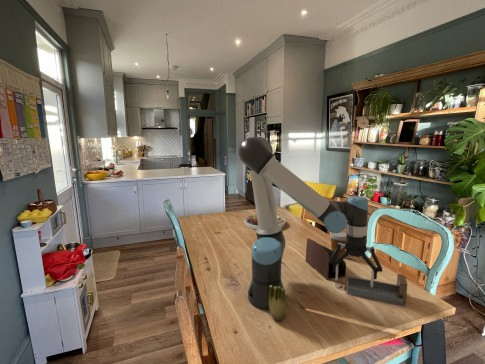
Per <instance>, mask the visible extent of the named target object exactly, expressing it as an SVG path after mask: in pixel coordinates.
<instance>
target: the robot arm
mask: <svg viewBox="0 0 485 364" xmlns="http://www.w3.org/2000/svg"><path fill="white" fill-rule="evenodd" d="M237 151H238V157H239V160H240V161H241V162H242V163H243V165H244V166H245V171H246V172H247V173H249V174H250V179H251V184H252V190H253V199H254V205H255V211H256V214H257V219H258V225H259V227H258V229H257V230H255V234H256V240H255V241H253V243H252V245H251V252H250V253H251V280H250V285H249V287H248V290H247V300H248V302H249V303H250V304H251V305H252V306H253V307H256V308H258V309H262V310H269V286H270V285H272V286H273V288H274V287H277V297H278V286H280V287H281V289H282V288H284V285H283V282H282V262H283V255H284V252H285V248H286V245H287V244H286V239H285V235H284V232H283V227H281V226H280V225H278V221H277V215H278V213H277V208H276V207H277V206H276V202H275V201H276V200H275V195H274V188H273V187H274V186H273V185H275V186H276V187H277V188H278V189H279V190H281V191H282V192H283V193H284V194H286V195H288V197H289V198H291V200H294V201H295V202H296V203H297V204H298V205H300V206H301V207H302V208H303V209H305V211H307V212H309V214H311V215H312V216H313V217H314V218H315V219H317V220H318V221H319V222H321V223H322V224H323V226H324V227H325V229H326V230H327V231H328V232H330V233H331V232H332V233H340V232H344V230H345V229H346V233H347V234H346V244H341V242H339V243H338V247H337V248H336V250H335V252H334V253H333V255H332V256H331V258H330V259H329V263H330V264H333V272H336V278H335V279H334V281H336V282H337V281H338V279H339V278H338V263H339V262H341V261H342V260H345V259H346V258H347V257H348V256H351V257H357V258H360V257H361V258H362V259H363V260H364V261H365V263H366V264H367V265H368V267H370V268H371V273H370V274H371V275H370V280H371V287H372V288H373V281H375V280H377V278H378V273H379V272H380V273H382V272H383V266H382V264H381V263H380V260H379V258H378V257H377V254H376V252H375V247H374V246H370V247H367V234H368V219H369V218H368V217H369V210H370V209H369V200H368V198H367V197H365V196H361V195H351V196H348V198H347V200H345V201H343V200H342V201H341V200H328V199H327V198H325V197H323V196H322V195H321V194H320V193H318V191H316V190H315V189H314V188H312V187H311V186H310V185H308V184H307V183H306V182H305V181H304V180H302V179H301V178H300V177H298V175H296V174H294V172H292V171H291V170H290V169H288V168H287V167H286V166H284V164H282V163H281V162H279V161H278V160H277V158H276V155H275V154H274V153H273V152H274V151H273V146H272V144H271V143H270V141H269V140H268V139H266V138H265V137H261V136H251V137H247V138H245V139H244V140H243V141H242V142H241V143H240V144H239V147H238V150H237ZM343 247H345V252H344V253H343V254H342V255H340V256H339V257H338V258H337V259H336V260H335V261H334V259H335V257H336V256H337V254H338V253H339V251H340V249H342V248H343ZM366 252H368V253H369V254H371V257H372V259H373V261H374V262H375V264H374V263H373V261H372V260H370V258H369V257H368V255H367V254H366ZM284 289H285V288H284ZM284 301H285V302H286V294H285V295H284Z"/></svg>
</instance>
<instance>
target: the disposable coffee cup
mask: <svg viewBox="0 0 485 364" xmlns="http://www.w3.org/2000/svg"><path fill="white" fill-rule="evenodd" d="M346 234H347V232H344V231H342V232H340V233H332V232H330V234H329V238H330V243H331V250H332V251H333V252H335V250H336V248H337V247H338V243H339V242H341V244H346ZM345 251H346V249H345V247H343V248H342V249H340V251H339V253H338V254H337V255H338V256H340V255H342V254H343V253H344V252H345Z"/></svg>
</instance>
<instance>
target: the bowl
mask: <svg viewBox="0 0 485 364" xmlns="http://www.w3.org/2000/svg"><path fill="white" fill-rule="evenodd" d="M277 221H278V225H280V226H281V227H282V228H283V227H284V226H285V225H286V219H285V217H283V216H282V215H281V216H280V215H278V214H277ZM244 224H245V226H246V227H247V228H248V229H251V230H254V231H256V230H257V229H258V227H259V225H258V219H257V213H256V214H251V215H248V216H246V217H245V218H244Z"/></svg>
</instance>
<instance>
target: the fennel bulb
mask: <svg viewBox="0 0 485 364" xmlns="http://www.w3.org/2000/svg"><path fill="white" fill-rule="evenodd" d="M284 295H285V296H286V289H285V288H282V289H281V287H280V286H278V297H277V287H274V288H273V286H272V285H270V286H269V309H268V310H269V313H270V315H271V317H272V319H273V320H275V321H281V320H283V319H284V318H285V317H286V314H287V313H286V312H287V311H286V300H285V301H284Z"/></svg>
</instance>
